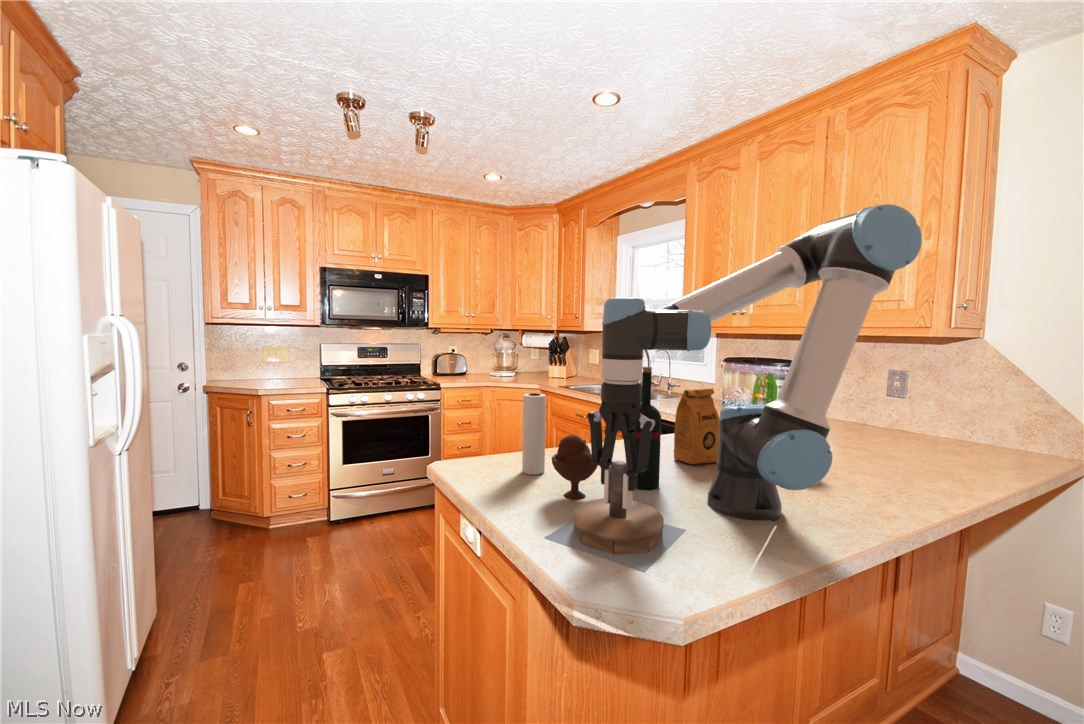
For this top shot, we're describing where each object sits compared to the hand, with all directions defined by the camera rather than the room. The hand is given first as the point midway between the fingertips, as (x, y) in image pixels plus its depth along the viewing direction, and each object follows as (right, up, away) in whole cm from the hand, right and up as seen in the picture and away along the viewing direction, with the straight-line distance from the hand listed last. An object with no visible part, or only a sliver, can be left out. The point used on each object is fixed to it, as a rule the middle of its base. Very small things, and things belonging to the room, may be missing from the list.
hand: (618, 503), depth 90 cm
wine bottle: (+11, -4, +31) cm, 33 cm away
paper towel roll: (-16, -3, +39) cm, 43 cm away
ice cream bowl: (-7, -5, +20) cm, 22 cm away
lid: (0, -6, 0) cm, 6 cm away
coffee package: (+32, -3, +51) cm, 61 cm away
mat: (0, -6, +1) cm, 6 cm away
